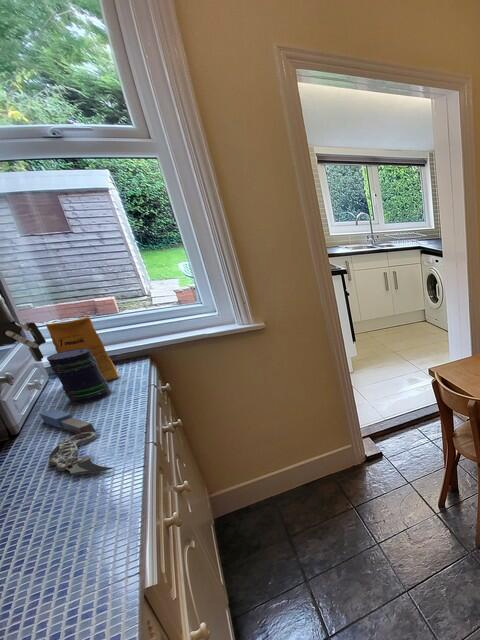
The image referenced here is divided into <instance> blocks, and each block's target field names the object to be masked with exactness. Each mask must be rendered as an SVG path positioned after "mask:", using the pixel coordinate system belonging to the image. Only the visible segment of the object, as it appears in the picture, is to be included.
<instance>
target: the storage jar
mask: <svg viewBox="0 0 480 640" xmlns="http://www.w3.org/2000/svg"><path fill="white" fill-rule="evenodd" d="M46 360H47V362H49V365H50V368H51V370H52V371H53V374H54V375H55V376H56V377H57V378H58V380H59V382H60V383H61V385H62V390H63V392H64V394H65V396H66V397H67V398H68V399H69V402H70V404H72V405H83V404H88V403H93V402H96V401H99V400H101V399H104V398H106V397H109V396H110V395H112V391H111V389H110V387H109V383H108V381H107V382H106V379H105V378H104V377H103V376H102V375H101V373H100V371H99V369H98V363H97V362H96V359H95V357H94V356H93V354H92V353H91V350H90V349H87V348H83V349H74V350H69V351H64V352H60V353H57V352H56V353H53V354H50V355H48V356H46Z"/></svg>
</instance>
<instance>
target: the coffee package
mask: <svg viewBox="0 0 480 640" xmlns="http://www.w3.org/2000/svg"><path fill="white" fill-rule="evenodd" d="M45 327H46V328H47V331H48V332H49V336H50V339H51V341H52V344H53V346H54V347H55V351H56V353H60V352H64V351H69V350H74V349H83V348H87V349H90V350H91V353H92V354H93V356H94V357H95V359H96V362H97V363H98V369H99V371H100V373H101V375H102V376H103V377H104V378H105V379H106V382H107V383H108V382H109V381H113V380H115V379H118V378H119V373H118V371H117V367H116V366H115V364H114V362H113V360H112V359H111V357H110V356H109V355H108V352H107V350H106V348H105V345H104V344H103V341H102V340H101V338H100V336H99V334H98V333H97V330H96V329H95V328H94V324H93V321H92V319H91V318H90V316H85V317H81V318H78V319H75V320H71V321H66V322H65V321H64V322H53V323H45Z"/></svg>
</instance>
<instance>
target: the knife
mask: <svg viewBox="0 0 480 640" xmlns="http://www.w3.org/2000/svg"><path fill="white" fill-rule="evenodd" d="M96 438H97V435H96V433H95V432H84V433H79V434H77V433H75V434H73V435H72V436H70V437H68V438H66V439H64V440H62V441H60V442H59V443H57V446H56V447H55V448H53V449H52V451H51V452H50V454H49V455H48V459H47V461H48V463H49V465H53V466H56V469H57V470H58V471H63V472H65V471H69V472H70V473H69V474H70V475H85V474H86V475H87V474H95V473H101V472H105V471H110V470H112V469H114V467H113V466H112V467H110V466H103V465H100V464H97V463H95V462H93V460H92V459H91V457H90V455H88V454H85V455H77V454H78V453H79V451H80V449H79V448H78V446H80V445H83V444H87V443H90V442H92V441H93V440H95V439H96Z"/></svg>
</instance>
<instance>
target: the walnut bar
mask: <svg viewBox="0 0 480 640" xmlns="http://www.w3.org/2000/svg"><path fill="white" fill-rule="evenodd" d="M61 423H62V425H63V427H64V428H63V429H64V430H65V431H68V432H71V433H74V434H79V433H84V432H94V433H95V432H96V430H95V428H94V426H93V425H92V423H91V422H89V421H84V420H81V419H78V418H75V417H72V418H70V419H67V420H64V421H61Z"/></svg>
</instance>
